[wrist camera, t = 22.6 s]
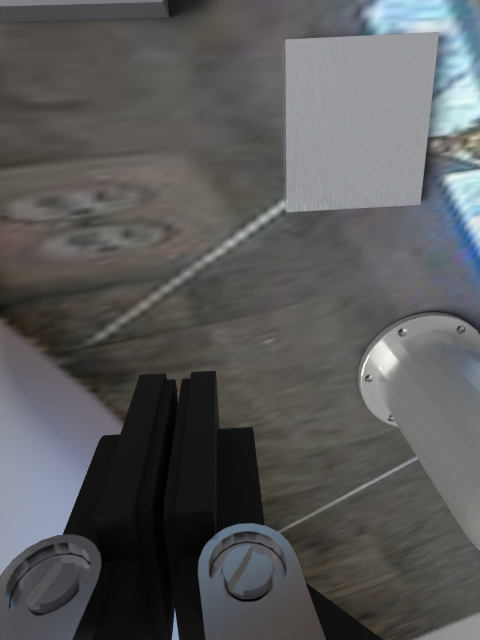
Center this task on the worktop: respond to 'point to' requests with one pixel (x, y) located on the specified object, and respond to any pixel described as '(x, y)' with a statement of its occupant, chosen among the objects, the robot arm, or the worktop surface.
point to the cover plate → (356, 120)
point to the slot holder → (80, 10)
